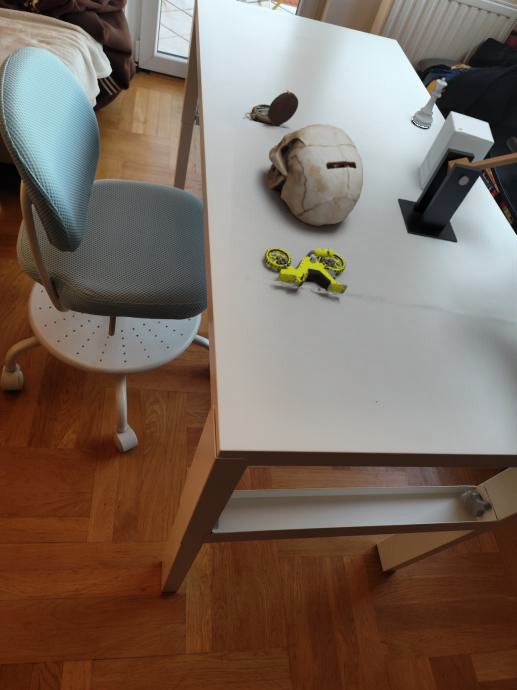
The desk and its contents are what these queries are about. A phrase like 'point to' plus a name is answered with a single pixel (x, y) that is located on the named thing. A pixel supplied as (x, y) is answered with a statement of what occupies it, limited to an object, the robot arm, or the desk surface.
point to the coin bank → (317, 173)
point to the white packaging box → (456, 142)
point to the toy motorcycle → (309, 268)
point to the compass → (276, 110)
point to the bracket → (440, 198)
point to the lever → (513, 144)
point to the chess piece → (429, 106)
